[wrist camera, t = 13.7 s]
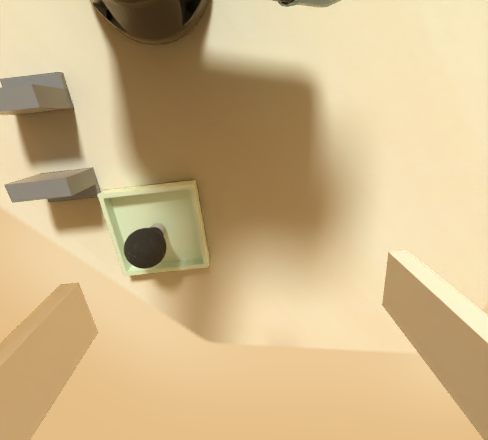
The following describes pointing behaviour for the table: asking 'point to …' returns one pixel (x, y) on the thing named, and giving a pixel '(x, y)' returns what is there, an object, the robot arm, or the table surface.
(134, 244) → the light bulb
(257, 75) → the table surface
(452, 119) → the table surface
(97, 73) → the table surface
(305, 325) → the table surface
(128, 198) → the tray
